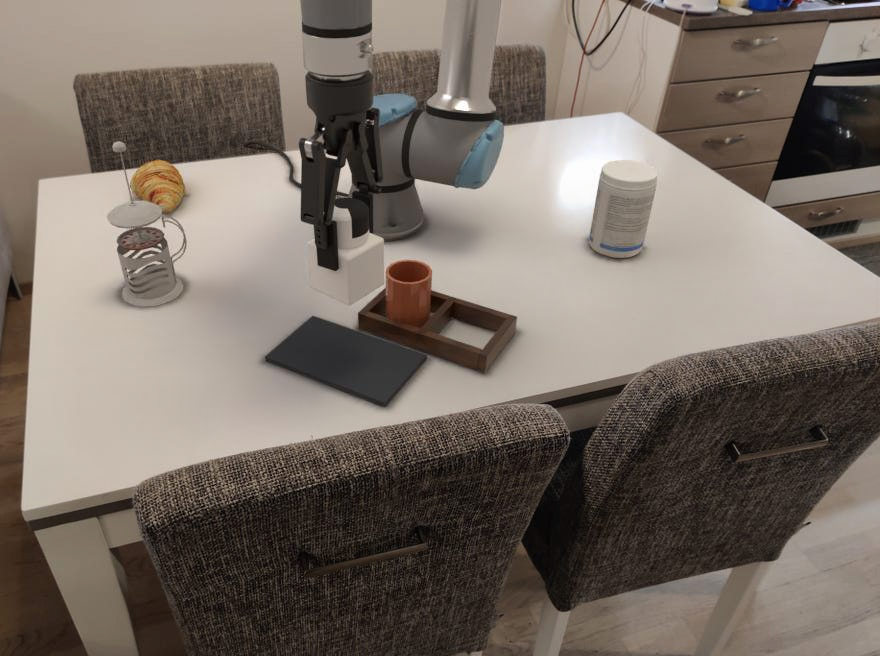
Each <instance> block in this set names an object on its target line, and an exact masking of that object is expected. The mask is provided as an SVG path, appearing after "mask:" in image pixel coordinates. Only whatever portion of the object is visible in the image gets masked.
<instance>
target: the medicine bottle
mask: <svg viewBox="0 0 880 656" xmlns="http://www.w3.org/2000/svg"><path fill="white" fill-rule="evenodd" d="M332 220H333V221H336V222H337V239H338V260H339V269H338V270H337V271H333V270H330V269H327V268H323V267H320V266H318V263H317V249H316V245H315V238H311V239H310V240H308V241H307V251H308V252H307V253H308V265H309V266H308V267H309V278H310V281H309V282H310V288H311V289H313V290H315V291H317V292H319V293H321V294H323V295H325V296H327V297H329V298H331V299H333V300H336V301H338V302H340V303H342V304H344V305H346V306H347V307H351V306H352V305H353V304H355V303H357V302H359V301H360V300H362V299H364V298H365V297H366V296H368V295H370V294H371V293H373V292H375V291H376V290H377V289H379V288H381V287H382V286H384V284H385V241H384V239H383V238H381V237H379V236H376V235H374V234H371V233H369V208H368V206H367V205H366V204H365V203H364V202H362V201H360V200H358V199H354V198H348V197H336V200H335V206H334V212H333V217H332Z"/></svg>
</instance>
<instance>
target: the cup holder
mask: <svg viewBox="0 0 880 656" xmlns="http://www.w3.org/2000/svg"><path fill="white" fill-rule="evenodd" d="M431 312H434V313H433V314H432V315H430V318H429V320H428V321H427V322H426V323H425V324H424V325H423V326H422V327H421V328H417V327H414V326H411V325H408V324H405V323H402V322H399V321H396V320H393V319H390V318H387V317H386V316H385V315H383V314H384V313H386V286H385V287H384V288H383V289H382V290H381V291H380V292H378V294H376V295H375V297H373V298H372V299H371V300H370V301H369V302H367V304H366V305H365V306H363V307H362V309H360V310H359V311H358V312H357V328H358V330H360V331H363V332H366V333H369V334H372V335H374V336H378V337H381V338H384V339H385V340H386V339H387V340H390V341H393V342H395V343H398V344H401V345H404V346H407V347H410V348H413V349H415V350H418V351H421V352H425V353H427V354H430V355H433V356H436V357H438V358H442V359H444V360H447V361H450V362H453V363H456V364H460V365H462V366H465V367H468V368H470V369H474V370H477V371H478V372H479V371H480V372H483V373H486V372H487V371H488V369H489V368H490V367H491V365H492V364H493V363H494V361H495V360H497V357H498V356H499V355H500V353H501V352H502V351H503V349H504V348H505V347H506V345H508V343H509V342H510V340H511V339H512V337H513V336H514V335H515V334H516V330H517V322H518V316H516V315H514V314H510V313H508V312H507V313H506V312H504V311H501V310H498V309H493V308H490V307H487V306H483V305H480V304H477V303H474V302H470V301H467V300H464V299H462V298H457V297H455V296H451V295H449V294H446V293H442V292H438V291H436V290H432V289H431ZM453 319H456V320H459V321H463V322H465V323H468V324H471V325H475V326H478V327H481V328H484V329H488V330H490V331H494V332H495V333H494V334H493V335H492V337H491V338H490V339H489V341H488V342H486V344H485V345H484V347H483V348H482V347H481V348H480V347H477V346H474V345H472V344H468V343H466V342H462V341H459V340H456V339H453V338H451V337H448V336H445V335H441V334H440V333H441V332H442V331H443V329H444V328H445V327H446V326H447V325H448V324H449V322H450V321H451V320H453Z"/></svg>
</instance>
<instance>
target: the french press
mask: <svg viewBox="0 0 880 656" xmlns="http://www.w3.org/2000/svg"><path fill="white" fill-rule="evenodd" d="M111 147H112V151H113V152H115V153H119V155H120V160H121V163H122V168H123V173H124V176H125V180H126V185H127V189H128V193H129V197H130V201H126V202H124V203H121V204H119V205H116V206H114V207H113V209H111V210H110V211H108V213H107V216H106V218H107V221H108V223H109V224H110V225H112V226H115V227H116V228H119V229H126V231H123V232H122V233H120V234H119V235H118V236H117V239H116V243H117V247H116V252H117V256H118V259H119V263H120V268H121V272H122V276H123V279H124V282H125V287H123V289H122V293H121V298H122V299H123V300H124V302H126V303H128V304H130V305H132V306H136V307H144V308H145V307H157V306H159V305H163V304H166V303H167V304H168V303H169V302H171V301H173V300H174V299H176V298H179V296H180V295H181V294H182V292H183V291H184V283H183V281H181V279H180V278H179V277H177V276H176V270H175V266H174V263H175V262H176V261H178V260H180V259H181V258H182V257H183V255H184V254H185V252H186V250H187V244H188V242H187V237H186V233H185V230H184V227H183V226H182V224H181V223H180V221H179V220H177V219H175V218H174V217H172V216H170V215H169V216H168V215H165V214H164V215H162V213H163V211H162V209H161V207H160V206H159V205H156V204H154V203H151V202H147V201H144V200H133V196H132V192H131V191H132V190H131V188H130V182H129V180H128V175H127V174H128V173H127V171H126V166H125V163H124V157H123V152H125V151H127V146H126V143H124V142H122V141H120V140H118V141H114V142H113V144H112V146H111ZM165 218H169V220H168V219H165ZM160 219H161V222H162V226H163V228H164V229H165V228H166V223H170V224H173V225H175V226H176V227H178V229H179V230H180V231H181V233H182V235H183V240H182V244H181V247H180V248H179V250H178V251H176V252H175V253H174V254H172V255H171V253H170V247H169V244H168V240H167V239H166V237H165V233H164V231H163V230H162V229H159V228H157V227H155V226H154V227H153V226H150V225H152V224H154V223H156V222H157V221H159V220H160ZM170 219H171V220H170ZM148 249H150V250H148ZM152 249H158V250H159V251H160V252H159V251H156V250H152ZM143 250H144V251H143ZM145 250H146V251H145ZM182 250H183V251H182ZM131 251H133V252H131ZM141 251H143V252H141ZM129 252H131V253H130V254H129V255H127V254H128V253H129ZM139 252H141V253H140V254H139ZM181 252H182V253H181ZM180 253H181V254H180ZM138 254H139V255H138ZM179 254H180V255H179ZM125 255H127V256H125ZM136 255H138V256H137V257H135V256H136ZM149 255H150V256H149ZM177 255H179V256H177ZM175 256H177V257H176V258H175ZM173 258H174V259H173ZM154 262H158V263H159V264H157V263H154ZM139 269H141V270H139ZM127 270H128V271H127ZM137 270H139V271H138V272H137Z"/></svg>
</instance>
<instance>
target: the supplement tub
mask: <svg viewBox="0 0 880 656" xmlns="http://www.w3.org/2000/svg"><path fill="white" fill-rule="evenodd" d="M658 175H659V173H658V171H657V169H656V168H655V167H653V166H652V165H650V164H648V163H644V162H642V161H637V160H631V159H630V160H629V159H619V160H618V159H617V160H611V161H609V162H606V163H604V164H603V165H602V167H601V171H600V173H599V179H598V182H597V183H598V184H597V188H596V189H597V190H596V196H595V201H594V207H593V212H592V213H593V214H592V218H591V225H590V230H589V238H588V243H589V246H590V248H592V250H594V251H595V252H596V253H598V254H600V255H603V256H606V257H610V258H614V259H615V258H616V259H625V258H630V257H634V256H636V255H638V254H639V253H640V252H641V251H642V249H643V247H644V243H645V238H646V234H647V230H648V225H649V221H650V216H651V213H652V208H653V203H654V198H655V194H656V189H657V183H658Z"/></svg>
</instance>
